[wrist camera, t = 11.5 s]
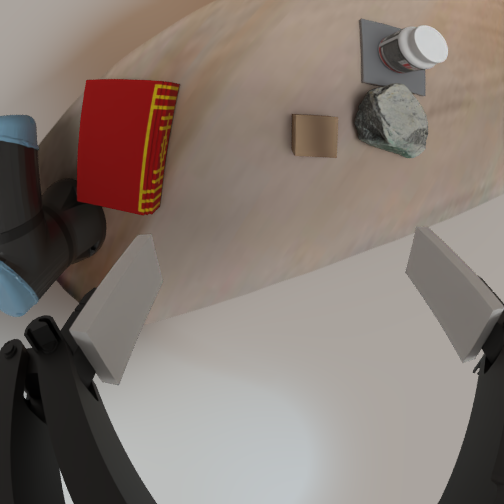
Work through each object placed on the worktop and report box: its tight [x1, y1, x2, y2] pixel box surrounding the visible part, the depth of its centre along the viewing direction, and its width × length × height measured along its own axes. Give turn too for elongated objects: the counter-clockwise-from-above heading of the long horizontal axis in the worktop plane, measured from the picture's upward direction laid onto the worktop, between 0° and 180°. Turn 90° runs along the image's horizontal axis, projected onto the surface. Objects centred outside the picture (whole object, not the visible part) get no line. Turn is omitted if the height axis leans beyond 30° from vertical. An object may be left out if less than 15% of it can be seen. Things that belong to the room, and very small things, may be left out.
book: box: [77, 79, 180, 215], centre depth 33 cm, size 18×13×5 cm
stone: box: [355, 83, 428, 158], centre depth 29 cm, size 10×10×10 cm
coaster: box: [359, 19, 425, 96], centre depth 26 cm, size 10×10×1 cm
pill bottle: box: [378, 25, 448, 73], centre depth 22 cm, size 6×6×10 cm
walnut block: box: [292, 114, 338, 158], centre depth 32 cm, size 5×5×5 cm
